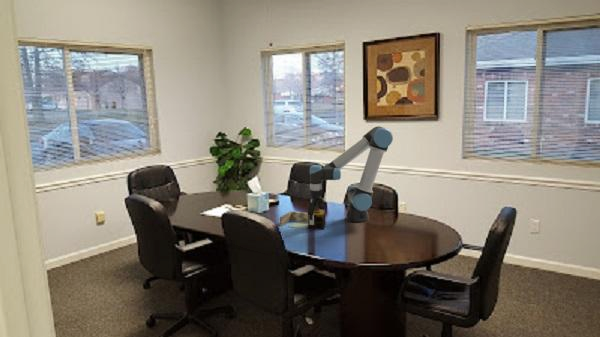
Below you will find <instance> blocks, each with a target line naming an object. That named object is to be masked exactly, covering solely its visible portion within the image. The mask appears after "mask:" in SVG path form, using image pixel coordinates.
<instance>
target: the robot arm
mask: <svg viewBox="0 0 600 337" xmlns="http://www.w3.org/2000/svg"><path fill="white" fill-rule="evenodd" d="M393 138H394V137H393V133H392V132H391V131H390V130H389V129H388V128H386V127H383V126H381V125H379V126H375V127H373V128H371V129H370V130H369V131H368V132H366V133H365V134H364V135H363V136H362V138H361V139H360V140H359V141H357V142H356V143H355V144H353V145H352V146H351V147H349V148H347V149H346V150H345V151H344V152H342V153H341V154H340V155H338V156H337V157H336V158H334V160H332V161H330V162H329V163H327V164H325V165H324V166H323V167H322V165H319V164H313V165H310V166H309V196H310V197H312V198H309V204H308V210H307V213H308V215H309V221H310V225H314V215H313V213H314V210H316V209H315V208H316V206H317V207H318V210H322V211H324V210H325V204H324V198H323V190H322V189H323V185H322V184H323V183H322V182H323V181H339V180H340V179H341V176H342V173H341V172H342V171H341V170H342V168H344V167H346V166H347V165H348V164H349V163H351V162H352V161H353V160H355V159H356V158H358V157H360V155H361V154H363V153H364V152H366V151H367V150H369V152H368V156H367V159H366V163H365V165H364V167H363V168H364V169H363V172H362V173H361V177H360V180H359V183H358V185H349V186H348V187H347V188H348V208H347V212H346V214H345V215H346V216H345V219H346V221H349V222H353V223H362V222H367V221H369V220H370V218H369V217H370V216H369V213H368V210H369V209H370V207H372V203H373V202H372V201H373V200H372V197H373V195H374V191H373V187H374V184H375V181H376V177H377V175H378V171H379V168H380V166H381V162H382V159H383V157H384V156H383V155H384V153H386V152H388V150H389V146H390V145H392V143H393V141H394V140H393Z"/></svg>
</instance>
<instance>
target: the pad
mask: <svg viewBox="0 0 600 337" xmlns="http://www.w3.org/2000/svg"><path fill="white" fill-rule="evenodd" d="M287 227H288V228H295V229H303V230H305V229H307V228H308V222H301V221H294V222H293V223H291V224H289V225H288V226H287Z"/></svg>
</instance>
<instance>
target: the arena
mask: <svg viewBox="0 0 600 337" xmlns="http://www.w3.org/2000/svg"><path fill="white" fill-rule="evenodd" d="M291 221H293V222H296V221H298V222H307V223H308V212H302V211H292V210H290V211H289V212H287V213H284V214H283V215H281V216H280V217H279V226H280V227H283V226H285V225H287V224H288V223H290V222H291Z"/></svg>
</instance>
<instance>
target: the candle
mask: <svg viewBox="0 0 600 337" xmlns="http://www.w3.org/2000/svg"><path fill="white" fill-rule="evenodd" d="M325 212H326V210H323V211H322V210H319V209H318V210H316V209H315V210H314V213H313V215H314V225H310V221H309V215H308V222H307V223H308V227H307V228H308V230H323V231H324V229H325V228H326V225H327V224H326V223H327V222H326V213H325Z"/></svg>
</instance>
